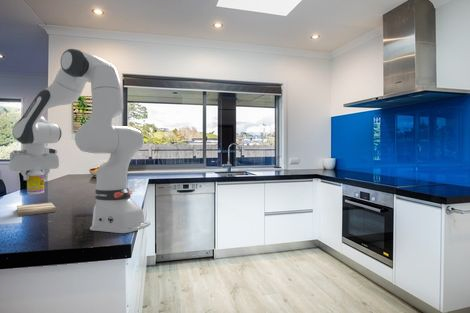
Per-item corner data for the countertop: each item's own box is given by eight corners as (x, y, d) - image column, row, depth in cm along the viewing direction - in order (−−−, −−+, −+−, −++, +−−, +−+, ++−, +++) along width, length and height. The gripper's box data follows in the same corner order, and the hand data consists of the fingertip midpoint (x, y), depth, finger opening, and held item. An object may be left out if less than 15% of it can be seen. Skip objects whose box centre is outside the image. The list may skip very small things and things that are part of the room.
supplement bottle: (42, 194, 130) (41, 166, 130) (25, 194, 128) (24, 167, 128) (46, 191, 137) (45, 166, 136) (29, 192, 134) (29, 166, 134)
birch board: (55, 211, 131) (55, 207, 131) (18, 216, 122) (18, 211, 122) (51, 206, 143) (51, 202, 143) (17, 210, 134) (17, 205, 134)
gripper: (13, 150, 121) (14, 182, 121) (60, 150, 139) (61, 177, 140) (5, 150, 124) (6, 181, 124) (53, 150, 142) (53, 177, 143)
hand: (35, 179), depth 132 cm, fingers closed on supplement bottle, 7 cm apart
